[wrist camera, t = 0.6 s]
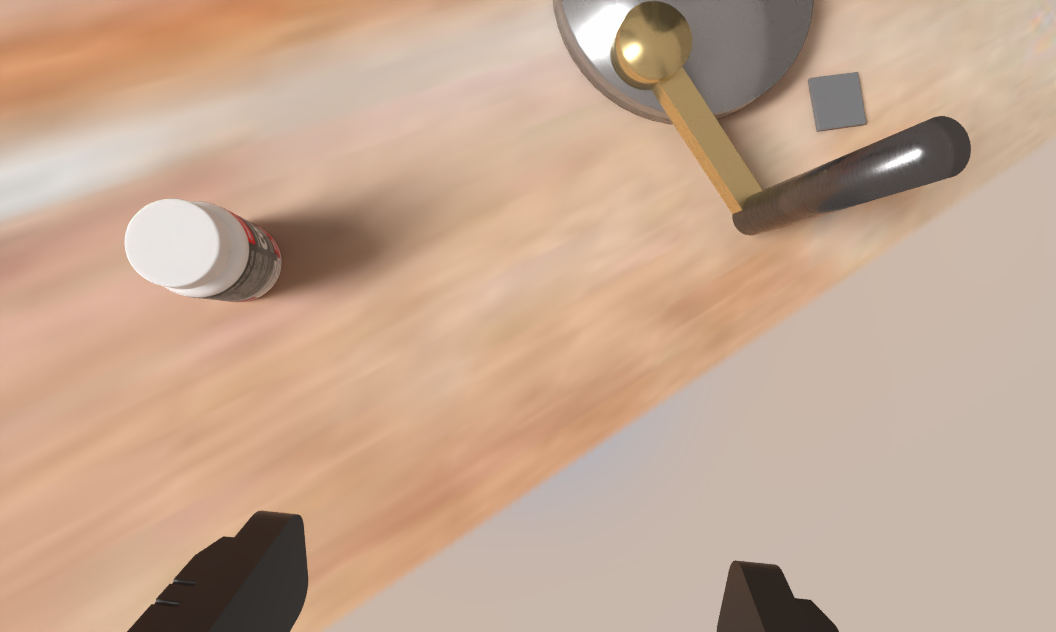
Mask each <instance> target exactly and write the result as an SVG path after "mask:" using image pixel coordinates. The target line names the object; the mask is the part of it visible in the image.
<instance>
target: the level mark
mask: <svg viewBox="0 0 1056 632" xmlns="http://www.w3.org/2000/svg"><path fill="white" fill-rule="evenodd" d="M808 83H809V89H810V95H811V100H812V106H813V112H814V118H815V123H816V129H817V131H824V130H831V129H838V128H846V127H853V126H860V125H864V124H866V118H865V112H864V106H863V100H862V95H861V89H860V83H859V77H858V72H855V73H847V74H839V75H831V76H823V77H815V78H810V79H809V80H808Z"/></svg>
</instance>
